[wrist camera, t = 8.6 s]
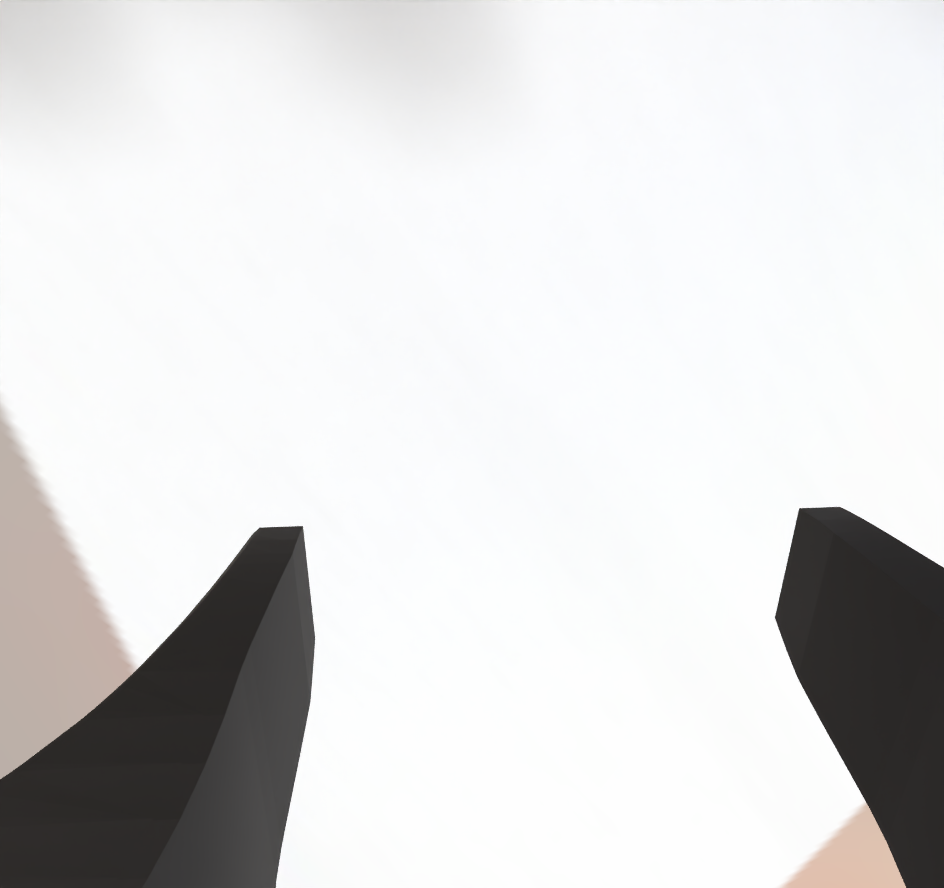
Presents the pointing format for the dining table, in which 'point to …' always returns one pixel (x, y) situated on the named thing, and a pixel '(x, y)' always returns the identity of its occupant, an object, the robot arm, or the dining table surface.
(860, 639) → the robot arm
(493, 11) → the dining table surface
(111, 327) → the dining table surface
